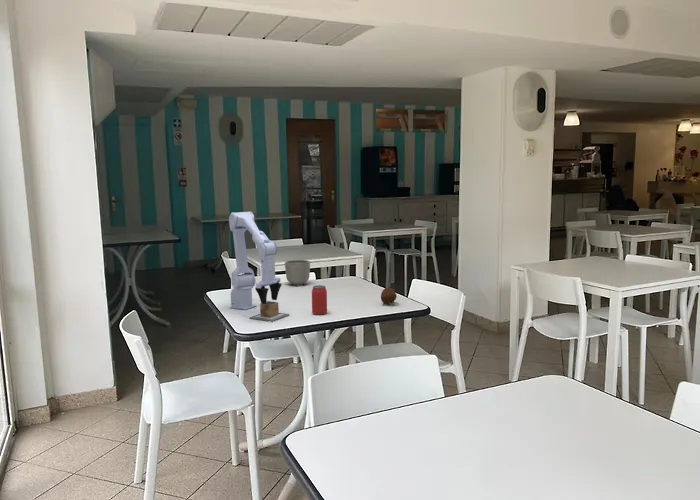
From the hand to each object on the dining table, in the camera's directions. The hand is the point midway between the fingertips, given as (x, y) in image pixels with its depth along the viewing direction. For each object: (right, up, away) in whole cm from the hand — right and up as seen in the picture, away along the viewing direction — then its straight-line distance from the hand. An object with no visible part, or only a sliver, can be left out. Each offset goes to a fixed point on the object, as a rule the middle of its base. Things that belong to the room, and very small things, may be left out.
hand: (269, 301), depth 235 cm
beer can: (+21, -6, +6) cm, 23 cm away
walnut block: (0, -6, +1) cm, 6 cm away
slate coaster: (0, -7, +1) cm, 7 cm away
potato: (+53, -3, +22) cm, 57 cm away
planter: (+6, +3, +70) cm, 70 cm away
